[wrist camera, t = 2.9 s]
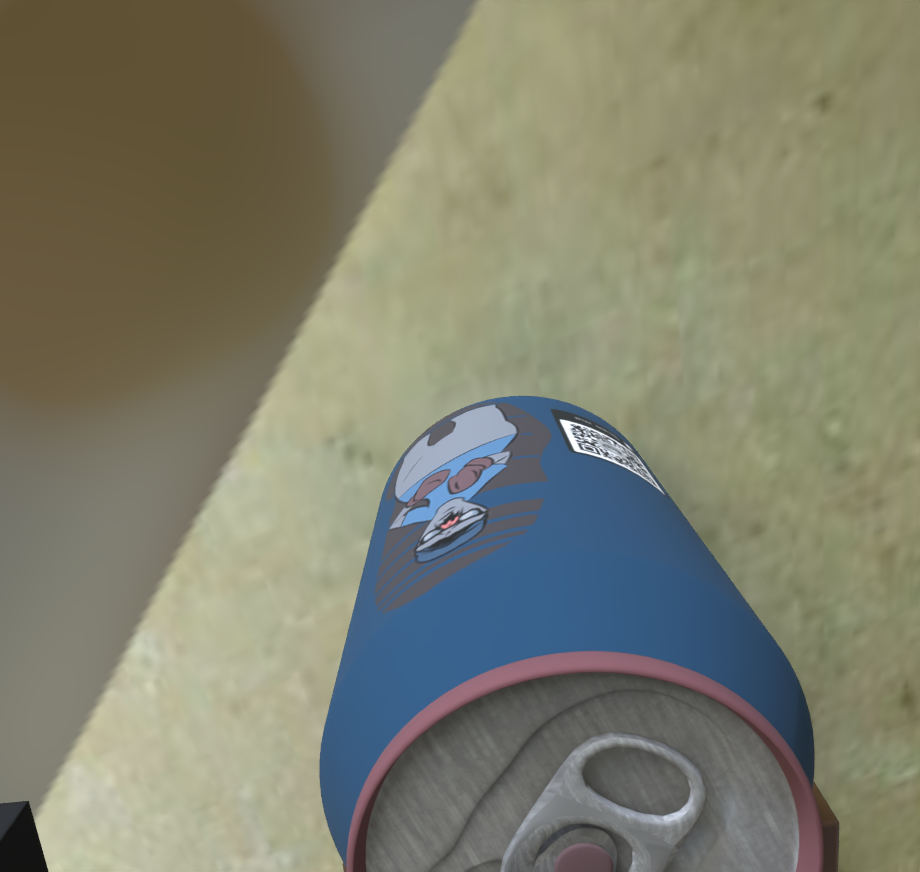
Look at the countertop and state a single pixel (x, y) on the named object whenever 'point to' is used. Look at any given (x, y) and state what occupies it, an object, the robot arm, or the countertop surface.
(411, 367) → the countertop surface
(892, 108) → the countertop surface
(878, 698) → the countertop surface
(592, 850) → the soda can
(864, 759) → the countertop surface
